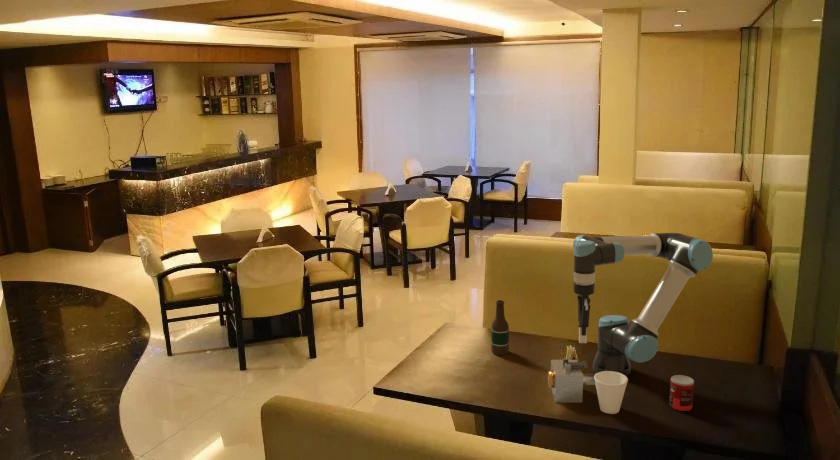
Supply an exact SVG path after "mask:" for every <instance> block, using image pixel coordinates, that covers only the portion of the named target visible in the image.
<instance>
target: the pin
mask: <svg viewBox="0 0 840 460" xmlns="http://www.w3.org/2000/svg"><path fill="white" fill-rule="evenodd" d="M582 374H583V386H596V384H595V379H594V376H595V374H596V373H588V374H587V373H582ZM547 385H548V388H549V389H551V388H554V373H553V371H551V370H548V372H547Z"/></svg>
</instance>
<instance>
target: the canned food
mask: <svg viewBox="0 0 840 460" xmlns="http://www.w3.org/2000/svg"><path fill="white" fill-rule="evenodd" d="M669 386H670V387H669V403H668V404H669V407H670V406H671V407H672V408H673V409H672V408H671V407H670V408H671V409H672V410H674V409H675V410H674V411H676V410H678V411H677V412H680V411H683V412H682V413H685V412H684V411H688V412H690V411H692V408H693V404H694V403H693V401H694V388H695V387H694V386H695V380H694V379H693V378H692V377H690V376H687V375H684V374H675V375H671V378H670V385H669Z"/></svg>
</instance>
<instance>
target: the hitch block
mask: <svg viewBox="0 0 840 460" xmlns="http://www.w3.org/2000/svg"><path fill="white" fill-rule="evenodd" d="M565 361H567V362H578V360H577V359H569V358H567V357H566V358H562V359H551V360H550V371H553V373H554V388H550V389H551V392H552V396H553V399H554V402H555V403H572V404H573V403H577V404H578V403H579V404H581V403H582V404H583V398H584V397H583V394H584V393H583V391H584V385H583V374H584V373H583V371H582V369H581V367H573V368H571V365H570V364H564V362H565Z"/></svg>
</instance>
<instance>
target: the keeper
mask: <svg viewBox="0 0 840 460" xmlns="http://www.w3.org/2000/svg"><path fill="white" fill-rule="evenodd" d="M564 364H570V365H571V368H573V367H580V368H583V369H588V364H587V361H586V360H582V361H577V362H567V361H565V362H564Z"/></svg>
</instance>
